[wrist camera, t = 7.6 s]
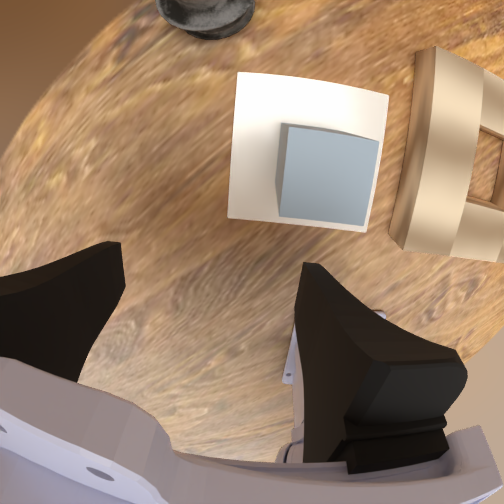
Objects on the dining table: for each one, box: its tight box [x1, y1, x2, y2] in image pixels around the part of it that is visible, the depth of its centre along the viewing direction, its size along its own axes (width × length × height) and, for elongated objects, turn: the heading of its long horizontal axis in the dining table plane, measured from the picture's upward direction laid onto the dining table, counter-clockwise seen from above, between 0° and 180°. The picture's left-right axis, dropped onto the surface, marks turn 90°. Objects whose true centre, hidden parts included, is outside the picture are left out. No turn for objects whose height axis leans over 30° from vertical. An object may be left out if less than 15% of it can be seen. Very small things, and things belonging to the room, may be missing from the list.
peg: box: [275, 122, 379, 226], centre depth 16 cm, size 4×4×7 cm
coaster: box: [227, 72, 389, 232], centre depth 19 cm, size 10×10×1 cm
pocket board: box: [388, 46, 504, 263], centre depth 17 cm, size 14×14×3 cm
